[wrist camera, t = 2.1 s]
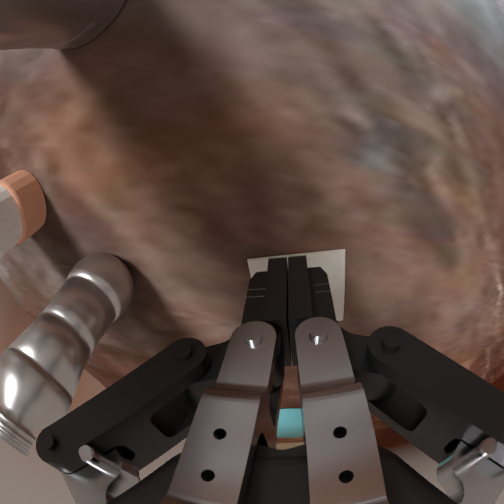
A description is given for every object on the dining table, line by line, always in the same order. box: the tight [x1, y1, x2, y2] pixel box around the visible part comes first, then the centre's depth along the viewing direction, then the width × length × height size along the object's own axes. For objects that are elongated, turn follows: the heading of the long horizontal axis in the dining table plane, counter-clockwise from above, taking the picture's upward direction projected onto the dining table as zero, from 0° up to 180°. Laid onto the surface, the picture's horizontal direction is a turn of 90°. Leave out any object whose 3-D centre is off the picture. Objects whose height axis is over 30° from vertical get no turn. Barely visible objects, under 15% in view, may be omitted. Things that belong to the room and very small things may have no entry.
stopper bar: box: [276, 442, 303, 450], centre depth 44 cm, size 2×16×2 cm, turn 100°
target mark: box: [277, 408, 303, 438], centre depth 39 cm, size 14×14×1 cm
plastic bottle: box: [0, 252, 134, 456], centre depth 16 cm, size 6×7×20 cm
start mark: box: [247, 249, 345, 321], centre depth 24 cm, size 8×8×1 cm
